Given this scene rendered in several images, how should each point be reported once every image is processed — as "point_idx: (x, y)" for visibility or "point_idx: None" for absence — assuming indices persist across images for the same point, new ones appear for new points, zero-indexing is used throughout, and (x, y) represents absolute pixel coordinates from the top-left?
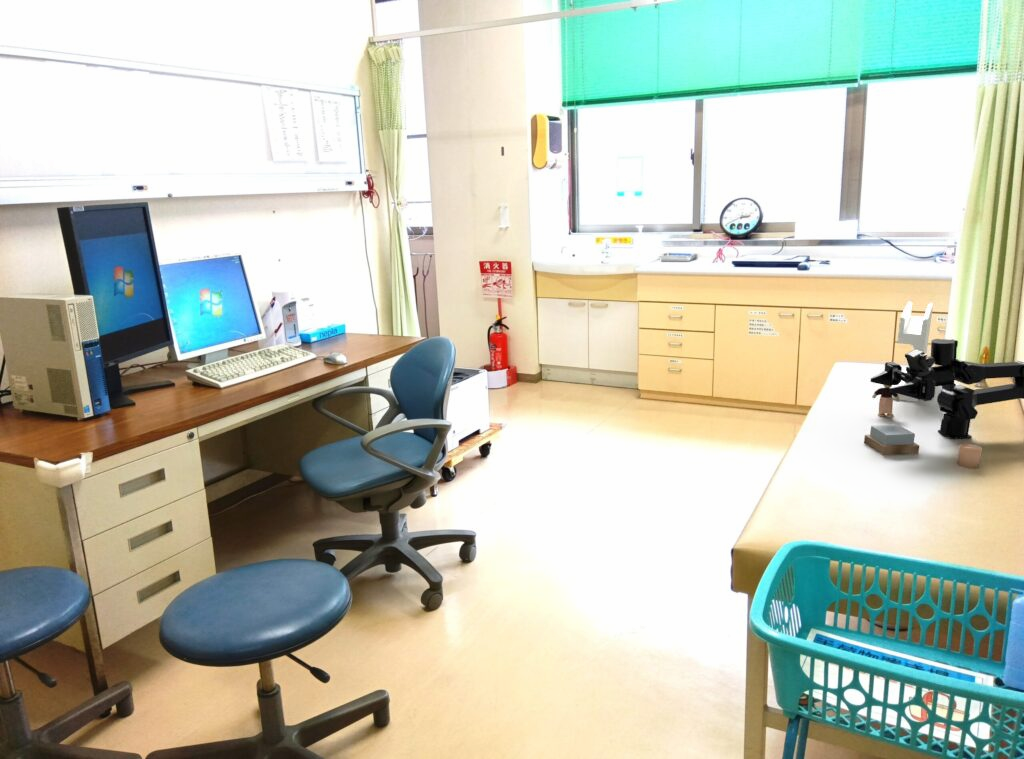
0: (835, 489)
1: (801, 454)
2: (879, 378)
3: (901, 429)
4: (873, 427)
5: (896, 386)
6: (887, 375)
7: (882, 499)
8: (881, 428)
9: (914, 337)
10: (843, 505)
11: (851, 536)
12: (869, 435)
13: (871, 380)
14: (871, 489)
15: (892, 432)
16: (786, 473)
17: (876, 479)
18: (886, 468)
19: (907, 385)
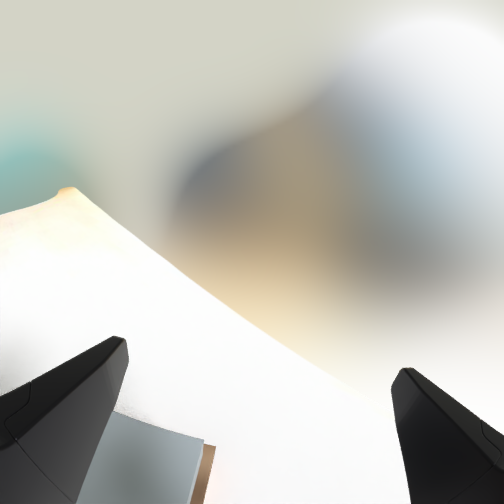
0: (68, 253)
1: (197, 296)
2: (427, 430)
3: (110, 500)
4: (185, 435)
5: (94, 357)
6: (476, 492)
7: (12, 267)
8: (157, 447)
9: None
10: (42, 237)
11: (18, 215)
12: (204, 455)
13: (396, 379)
14: (32, 277)
15: (101, 442)
16: (143, 247)
17: (39, 306)
18: (48, 357)
19: (9, 393)
